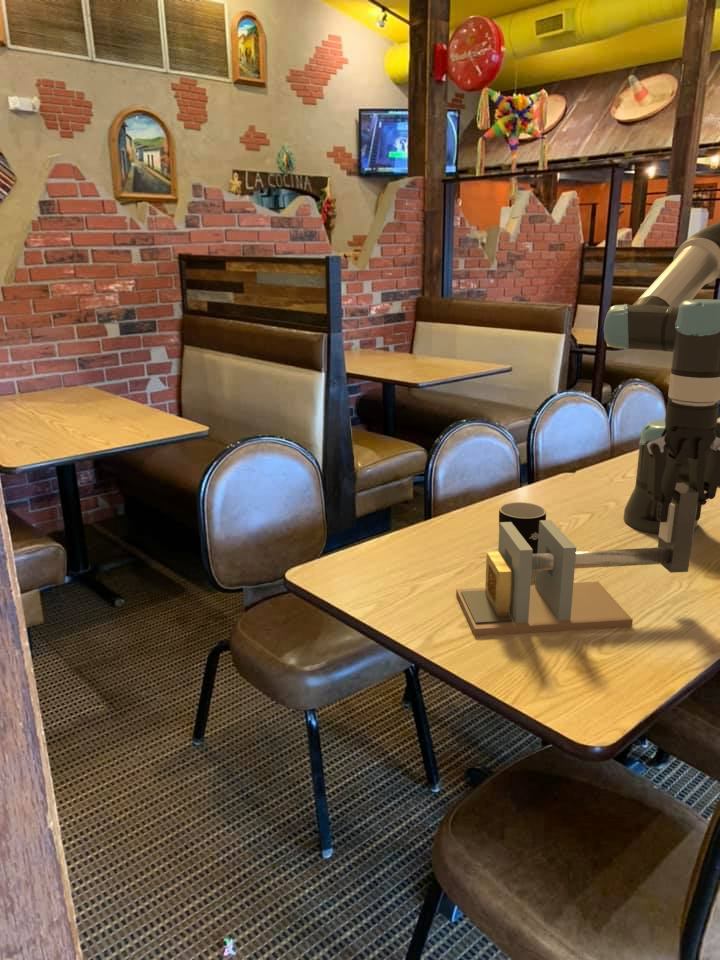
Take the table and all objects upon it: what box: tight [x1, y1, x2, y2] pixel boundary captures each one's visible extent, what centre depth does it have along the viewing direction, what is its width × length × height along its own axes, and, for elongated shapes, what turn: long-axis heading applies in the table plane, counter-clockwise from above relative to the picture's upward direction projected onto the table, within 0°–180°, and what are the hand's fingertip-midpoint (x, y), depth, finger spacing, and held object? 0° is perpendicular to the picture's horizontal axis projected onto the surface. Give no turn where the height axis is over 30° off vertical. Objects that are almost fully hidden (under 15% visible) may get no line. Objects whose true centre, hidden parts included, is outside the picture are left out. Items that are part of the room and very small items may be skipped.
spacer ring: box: [484, 550, 512, 616], centre depth 121 cm, size 2×8×8 cm, turn 5°
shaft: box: [531, 483, 699, 574], centre depth 119 cm, size 27×5×14 cm, turn 95°
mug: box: [498, 501, 547, 554], centre depth 143 cm, size 12×9×10 cm
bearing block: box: [455, 519, 634, 636], centre depth 121 cm, size 26×14×14 cm, turn 95°
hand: (675, 538), depth 121 cm, fingers closed on shaft, 3 cm apart
